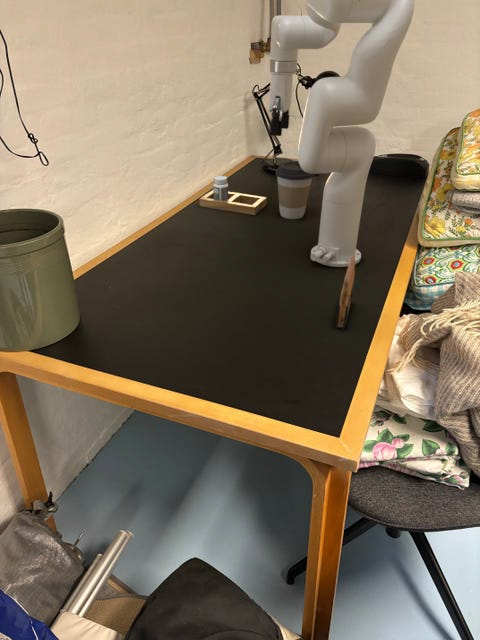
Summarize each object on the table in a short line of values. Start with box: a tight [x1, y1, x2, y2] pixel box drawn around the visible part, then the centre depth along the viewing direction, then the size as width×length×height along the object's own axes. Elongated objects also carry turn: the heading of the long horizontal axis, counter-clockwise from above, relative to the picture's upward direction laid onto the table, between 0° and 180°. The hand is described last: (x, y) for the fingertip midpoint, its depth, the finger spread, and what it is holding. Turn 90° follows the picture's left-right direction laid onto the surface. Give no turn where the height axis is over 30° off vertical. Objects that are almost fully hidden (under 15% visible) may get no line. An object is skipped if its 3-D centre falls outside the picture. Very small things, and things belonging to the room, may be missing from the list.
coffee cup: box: [275, 160, 315, 220], centre depth 149 cm, size 11×11×15 cm
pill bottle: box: [212, 175, 229, 201], centre depth 159 cm, size 5×5×8 cm
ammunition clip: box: [335, 254, 356, 330], centre depth 101 cm, size 11×2×12 cm, turn 163°
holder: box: [198, 189, 268, 216], centre depth 159 cm, size 10×19×2 cm, turn 67°
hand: (279, 131), depth 148 cm, fingers open, 9 cm apart
